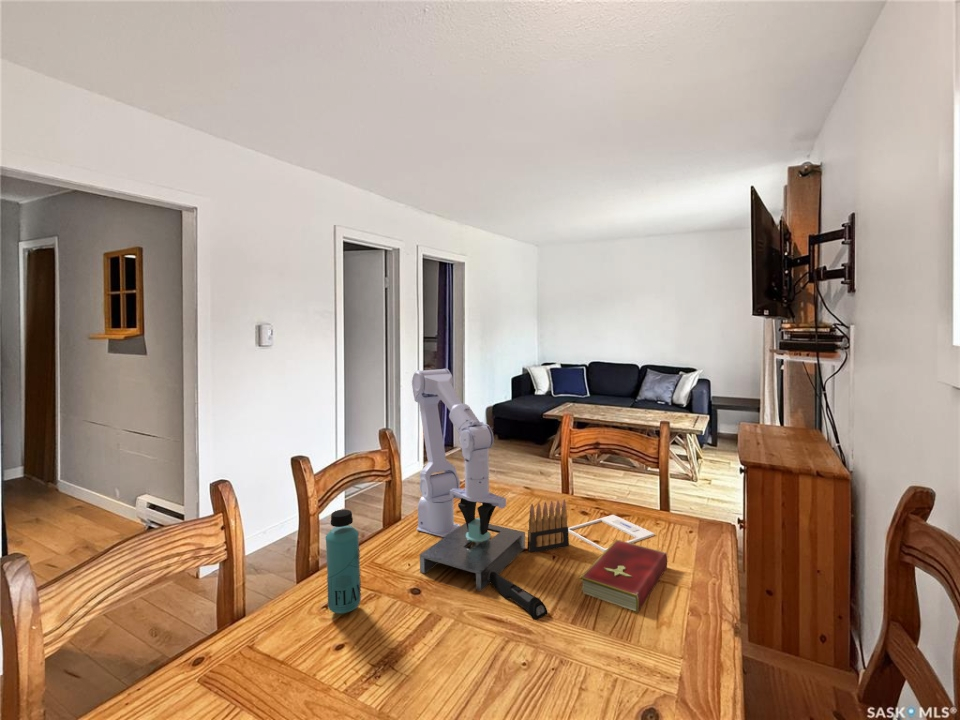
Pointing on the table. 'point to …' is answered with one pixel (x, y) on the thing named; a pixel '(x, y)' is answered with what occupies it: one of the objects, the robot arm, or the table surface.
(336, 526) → the beverage bottle
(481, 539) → the peg
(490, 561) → the keyhole plate
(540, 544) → the ammunition clip
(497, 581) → the electric trimmer
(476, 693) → the table surface
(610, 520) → the photo frame
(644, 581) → the hardcover book
